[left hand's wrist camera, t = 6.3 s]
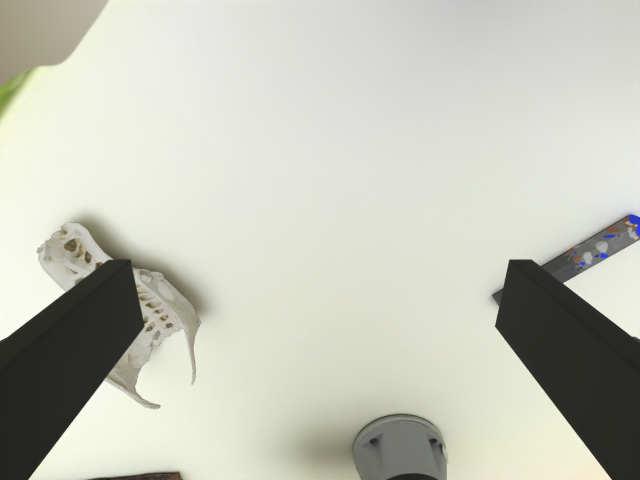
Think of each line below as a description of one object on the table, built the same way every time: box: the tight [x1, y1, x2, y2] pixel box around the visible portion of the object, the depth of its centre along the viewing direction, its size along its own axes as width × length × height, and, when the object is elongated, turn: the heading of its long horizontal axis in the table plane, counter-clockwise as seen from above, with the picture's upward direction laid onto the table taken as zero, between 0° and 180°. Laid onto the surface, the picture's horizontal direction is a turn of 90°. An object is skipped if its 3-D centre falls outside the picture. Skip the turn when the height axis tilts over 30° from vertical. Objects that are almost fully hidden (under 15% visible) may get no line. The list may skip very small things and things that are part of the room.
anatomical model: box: [37, 223, 201, 410], centre depth 46 cm, size 15×9×25 cm
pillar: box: [492, 214, 640, 306], centre depth 47 cm, size 2×2×20 cm
